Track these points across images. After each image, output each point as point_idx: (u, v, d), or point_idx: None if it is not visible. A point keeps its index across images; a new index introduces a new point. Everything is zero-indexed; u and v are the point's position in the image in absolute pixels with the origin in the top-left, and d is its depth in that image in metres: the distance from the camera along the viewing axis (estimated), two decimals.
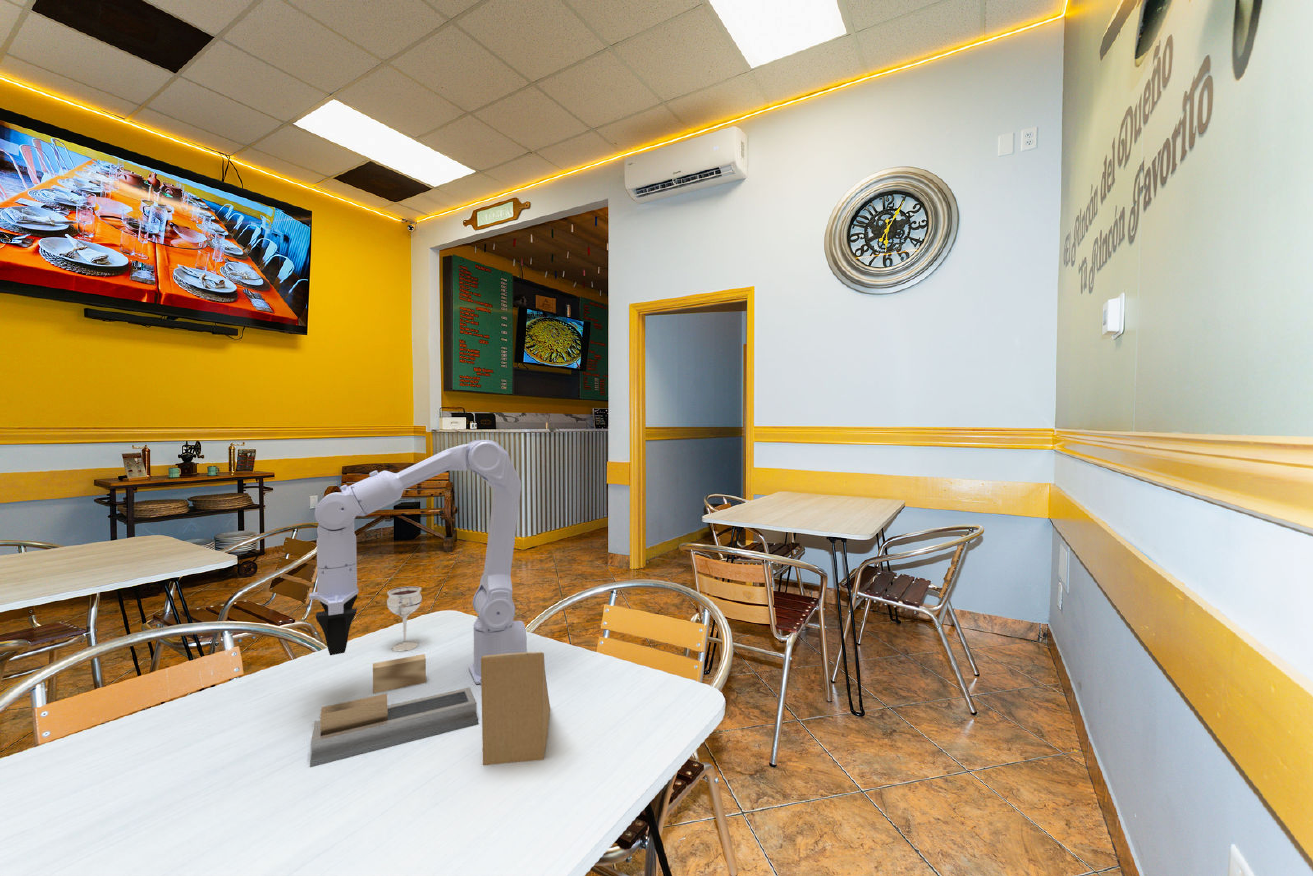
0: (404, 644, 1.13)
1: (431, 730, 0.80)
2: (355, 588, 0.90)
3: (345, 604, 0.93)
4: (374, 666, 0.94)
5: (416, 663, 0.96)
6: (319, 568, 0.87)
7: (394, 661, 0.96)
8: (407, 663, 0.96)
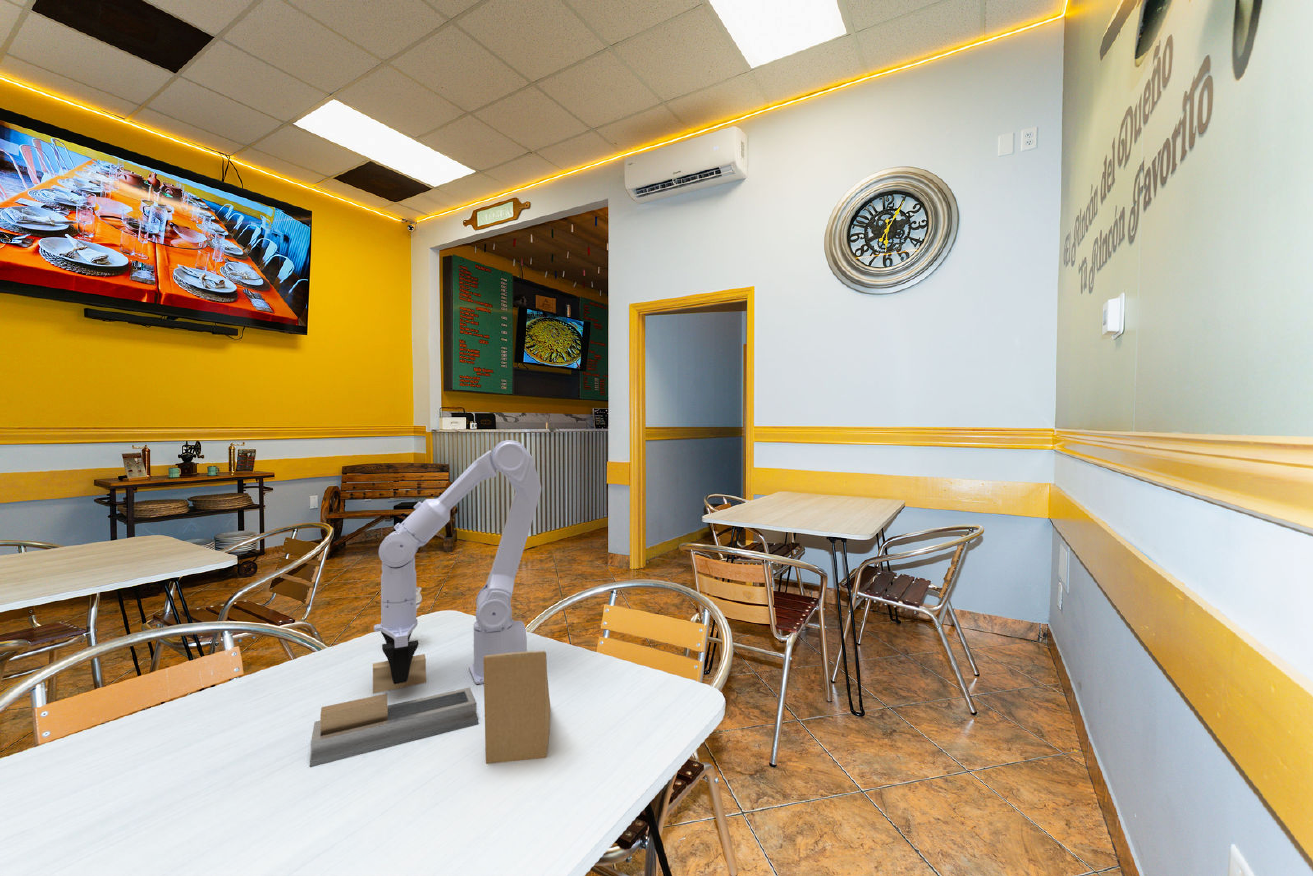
0: None
1: (431, 730, 0.80)
2: (415, 620, 0.96)
3: None
4: (374, 666, 0.94)
5: (416, 663, 0.96)
6: (384, 602, 0.94)
7: None
8: None
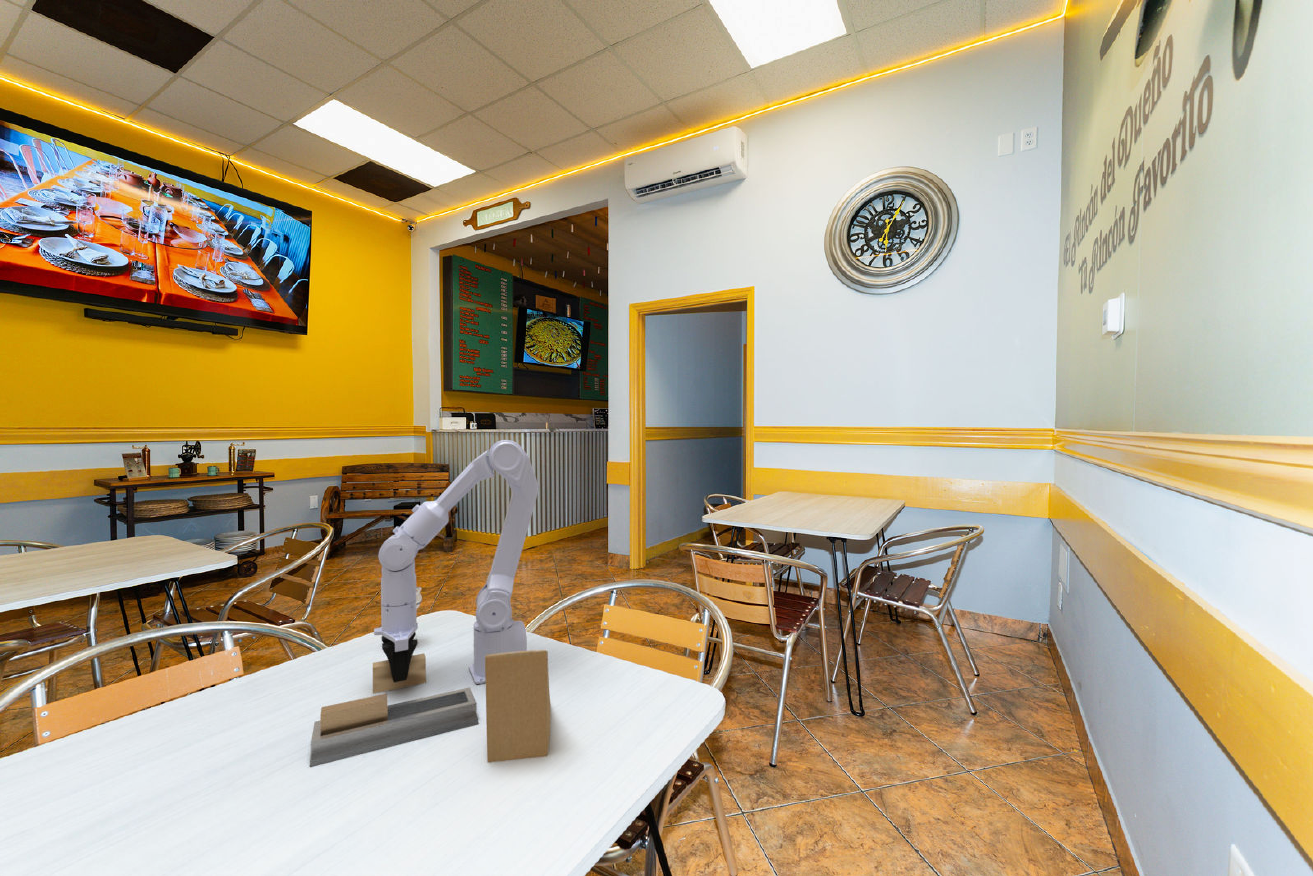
0: None
1: (431, 730, 0.80)
2: (415, 624, 0.96)
3: None
4: (374, 665, 0.94)
5: (416, 662, 0.96)
6: (384, 606, 0.94)
7: None
8: None
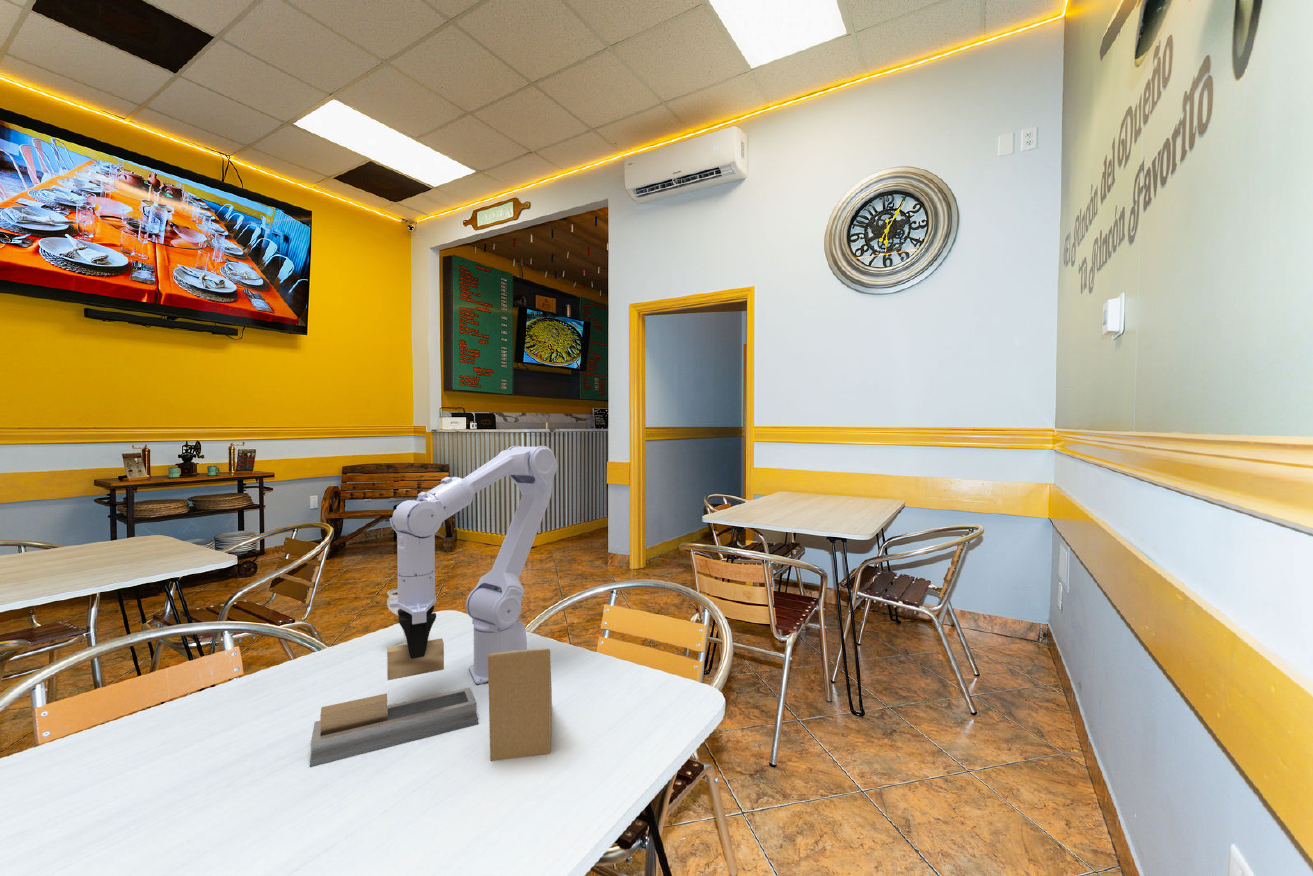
0: (404, 644, 1.13)
1: (431, 730, 0.80)
2: (434, 596, 0.89)
3: None
4: (389, 650, 0.87)
5: (433, 647, 0.89)
6: (400, 576, 0.87)
7: None
8: None
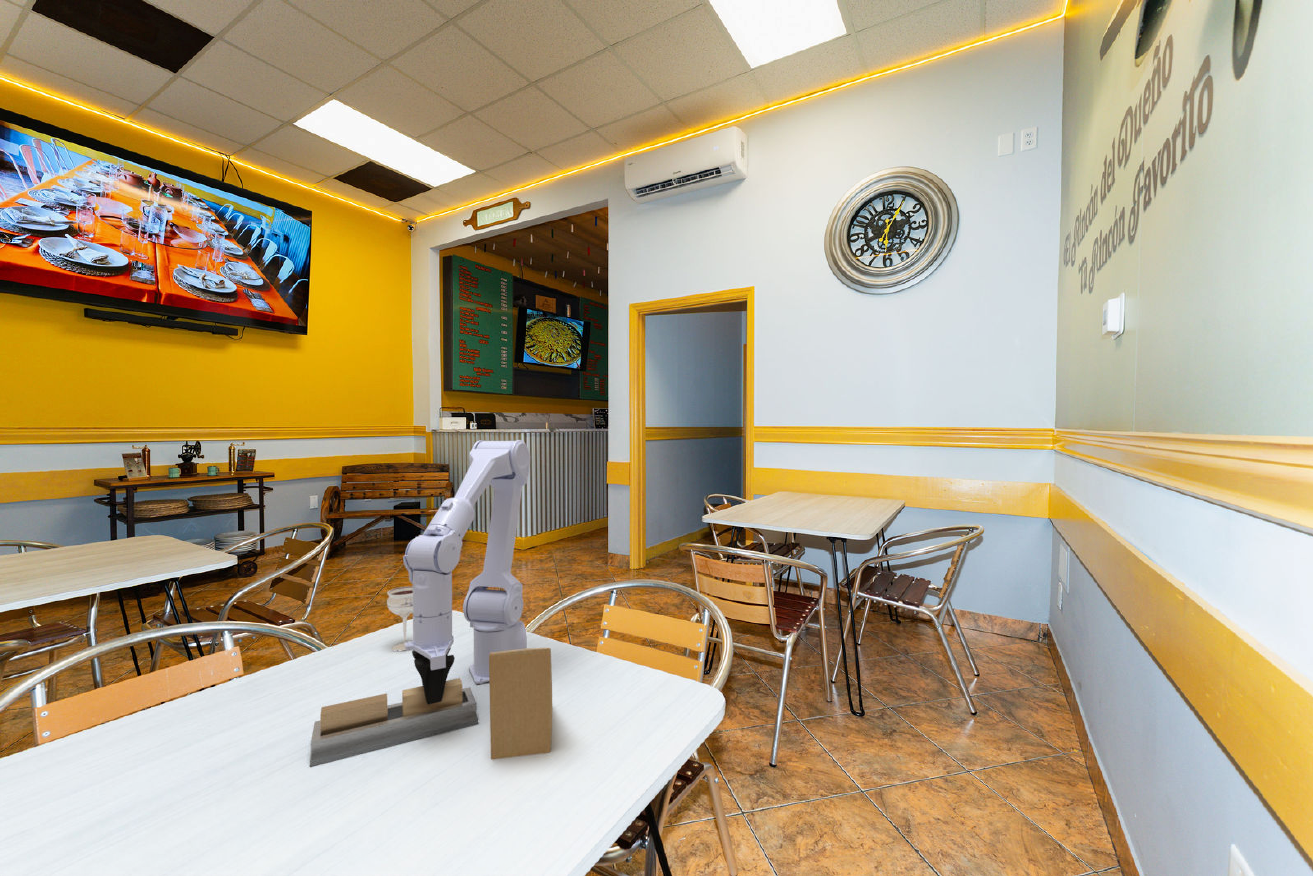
0: (404, 644, 1.13)
1: (431, 730, 0.80)
2: (451, 637, 0.84)
3: None
4: (404, 694, 0.82)
5: (452, 689, 0.84)
6: (416, 617, 0.81)
7: None
8: None
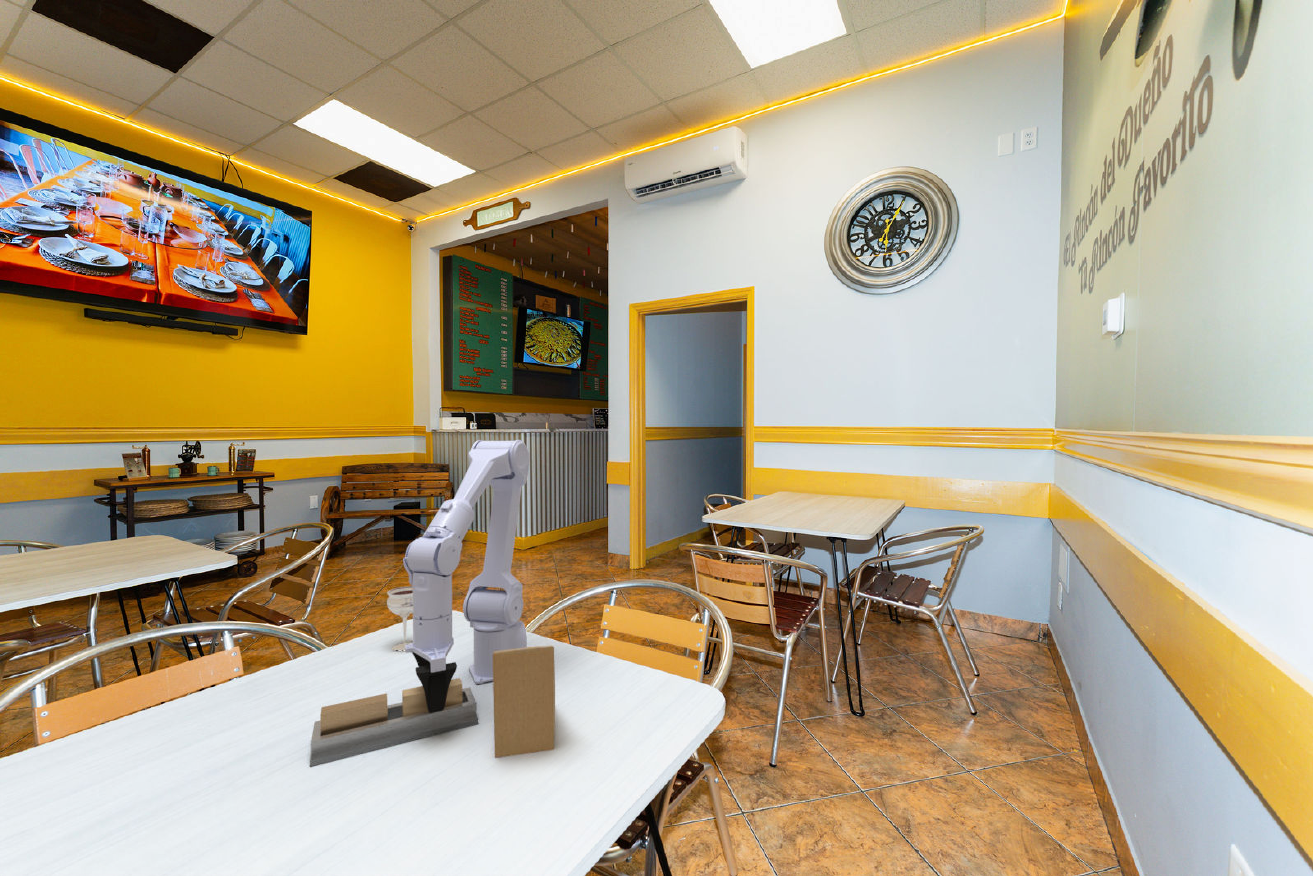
0: (404, 644, 1.13)
1: (431, 730, 0.80)
2: (451, 639, 0.84)
3: None
4: (404, 694, 0.82)
5: (452, 689, 0.84)
6: (416, 619, 0.81)
7: None
8: None
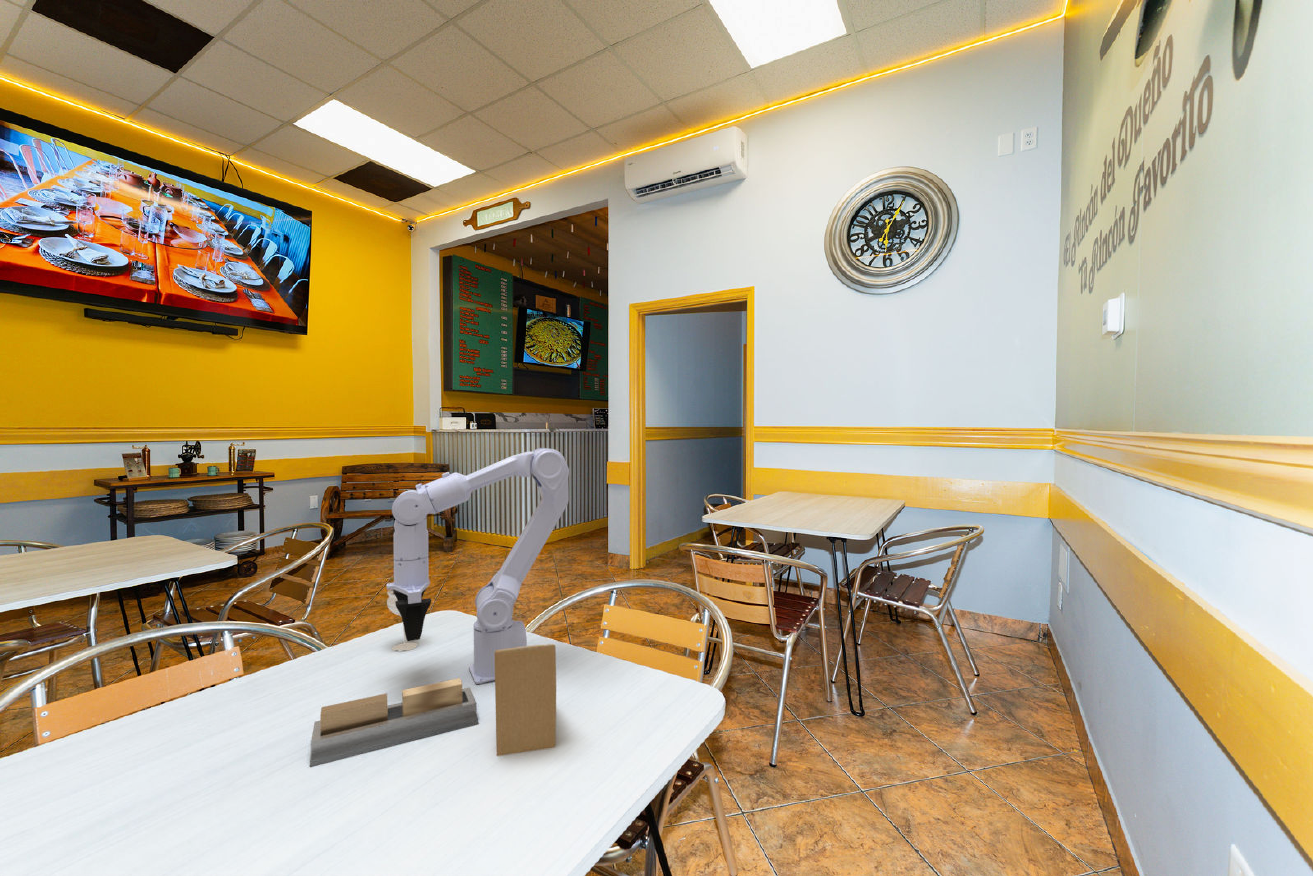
0: (404, 644, 1.13)
1: (431, 730, 0.80)
2: (427, 579, 0.96)
3: None
4: (404, 694, 0.82)
5: (452, 689, 0.84)
6: (396, 560, 0.94)
7: (427, 687, 0.84)
8: (442, 689, 0.83)
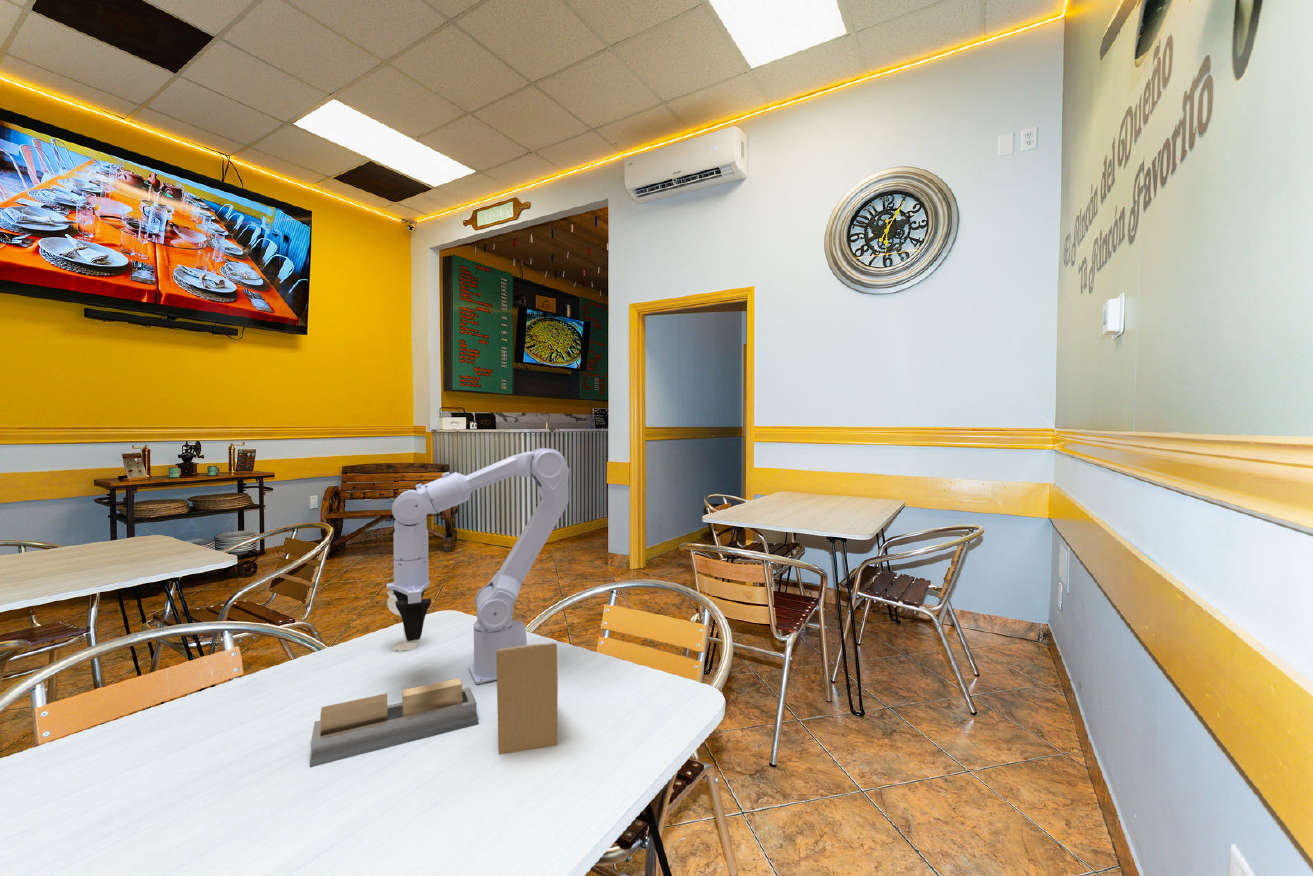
0: (404, 644, 1.13)
1: (431, 730, 0.80)
2: (427, 579, 0.96)
3: None
4: (404, 694, 0.82)
5: (452, 689, 0.84)
6: (396, 560, 0.94)
7: (427, 687, 0.84)
8: (442, 689, 0.83)
